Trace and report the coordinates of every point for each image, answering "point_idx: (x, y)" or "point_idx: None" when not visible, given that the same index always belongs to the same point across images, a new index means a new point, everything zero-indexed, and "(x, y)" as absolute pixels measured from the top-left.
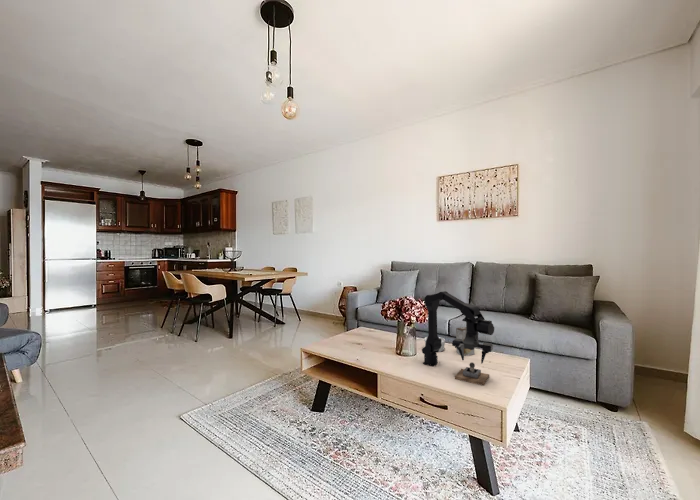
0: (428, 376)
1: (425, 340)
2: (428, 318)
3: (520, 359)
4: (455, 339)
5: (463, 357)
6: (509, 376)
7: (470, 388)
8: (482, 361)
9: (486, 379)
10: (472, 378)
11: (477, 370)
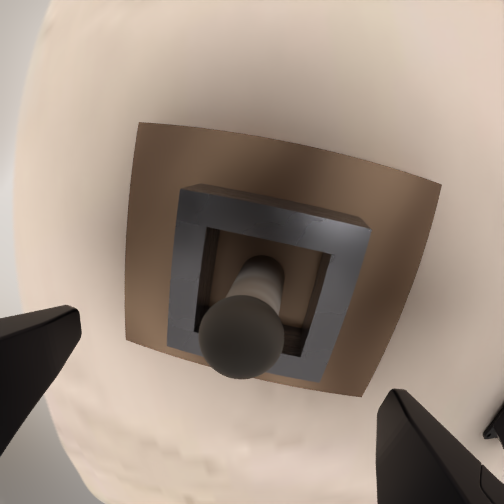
0: None
1: None
2: None
3: (101, 497)
4: None
5: (391, 436)
6: None
7: (265, 13)
8: (32, 312)
9: (130, 227)
10: (253, 179)
11: (195, 318)
